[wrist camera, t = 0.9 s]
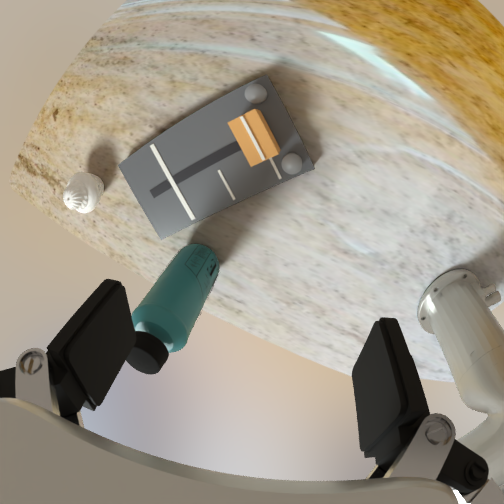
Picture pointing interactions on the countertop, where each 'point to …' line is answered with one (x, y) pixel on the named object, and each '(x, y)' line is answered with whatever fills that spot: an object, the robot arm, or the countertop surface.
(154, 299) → the beverage bottle
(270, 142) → the fader tab
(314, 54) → the countertop surface
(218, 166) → the console board
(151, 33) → the countertop surface
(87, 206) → the muffin
